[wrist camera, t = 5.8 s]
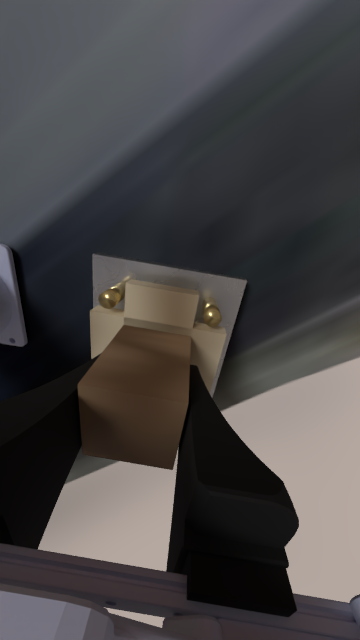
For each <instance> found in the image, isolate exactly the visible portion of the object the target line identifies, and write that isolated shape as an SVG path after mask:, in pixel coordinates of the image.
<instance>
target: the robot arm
mask: <svg viewBox="0 0 360 640" xmlns="http://www.w3.org/2000/svg"><path fill="white" fill-rule="evenodd" d="M0 343H2V344H8V345H13V346H19V347H22V346H24V345H26V344H27V335H26V329H25V323H24V317H23V312H22V306H21V300H20V294H19V289H18V283H17V277H16V271H15V266H14V260H13V254H12V251H11V249H10V248H9V247H8V246H7V245H4V244H0ZM100 355H101V354H99V355H97V356H96V357H94V358H93V359H91V360H89V361H88V362H86V363H84V364H83V365H81V366H79V367H78V368H76V369H74V370H72V371H70V372H68V373H67V374H65V375H63V376H61V377H59V378H57V379H55V380H53V381H51V382H49V383H47V384H44V385H42V386H40V387H38V388H35V389H33V390H30V391H27V392H25V393H22V394H20V395H17V396H14V397H12V398H9V399H6V400H3V401H0V640H360V594H359V595H357V596H355V597H353V598H352V599H351V600H350V603H346V602H340V601H334V600H328V599H322V598H317V597H311V596H304V595H299V594H293V593H292V589H291V585H290V582H289V578H288V575H287V571H286V568H288V566H289V562H288V559H287V555H286V552H285V548H284V547H285V546H286V544H287V543H288V542H289V541H290V540H291V538H292V537H293V536H294V535H295V533H296V531H297V529H298V527H299V520H298V517H297V514H296V512H295V509H294V506H293V503H292V501H291V499H290V496H289V494H288V492H287V490H286V488H285V485H284V483H283V481H282V480H281V479H280V478H279V477H278V476H277V475H276V474H275V473H274V472H272V471H271V470H270V469H269V468H268V467H267V466H266V465H265V464H264V463H263V462H262V461H261V460H260V459H259V458H258V457H257V456H256V455H255V454H254V453H253V452H252V451H251V450H250V449H249V448H248V447H247V446H246V445H245V443H244V442H243V441H242V440H241V439H240V438H239V436H238V435H237V434H236V433H235V431H234V430H233V429H232V428H231V426H230V425H229V424H228V422H227V421H226V419H225V418H224V417H223V415H222V414H221V412H220V411H219V409H218V407H217V406H216V404H215V402H214V401H213V399H212V397H211V395H210V393H209V391H208V389H207V387H206V385H205V383H204V381H203V379H202V376H201V374H200V371H199V368H198V366H197V365H191V364H190V376H189V402H188V408H187V412H186V416H185V420H184V424H183V429H182V433H181V437H180V441H179V446H178V464H177V474H176V485H175V494H174V504H173V514H172V524H171V533H170V542H169V553H168V561H167V570H166V572H165V571H159V570H153V569H148V568H142V567H136V566H130V565H124V564H118V563H113V562H107V561H101V560H95V559H90V558H84V557H78V556H72V555H66V554H60V553H55V552H49V551H43V550H37V549H38V546H39V544H40V541H41V539H42V536H43V534H44V531H45V529H46V526H47V524H48V522H49V519H50V516H51V514H52V512H53V509H54V507H55V504H56V502H57V500H58V497H59V495H60V493H61V490H62V488H63V486H64V483H65V481H66V479H67V476H68V474H69V472H70V470H71V467H72V465H73V463H74V461H75V459H76V456H77V454H78V452H79V450H80V448H81V446H82V439H81V426H80V412H79V399H78V385H77V384H78V383H79V382H80V380H81V379H82V378H83V377H84V375H85V374H86V373H87V371H88V370H89V369H90V368H91V366H92V365H93V364H94V362H95V361H96V360H97V359H98V357H99V356H100ZM104 607H106V608H112V609H118V610H124V611H130V612H135V613H141V614H147V615H153V616H159V617H165V619H164V621H163V627H162V628H160V627H156V626H152V625H149V624H146V623H142V622H138V621H135V620H132V619H128V618H125V617H121V616H118V615H115V614H111V613H109V612H108V610H107V609H106V608H104Z"/></svg>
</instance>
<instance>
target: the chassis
mask: <svg viewBox="0 0 360 640" xmlns="http://www.w3.org/2000/svg"><path fill="white" fill-rule="evenodd" d="M131 279H133V280H139V281H145V282H151V283H157V284H162V285H168V286H174V287H180V288H186V289H191V290H197V291H199V300H198V305H197V310H196V314H195V319H194V322H198V323H203V324H206V325H207V326H210V327H215V326H221V327H224V328H225V331H226V334H227V335H226V339H225V342H224V346H223V349H222V353H221V356H220V360H219V363H218V367H217V370H216V373H215V377H214V380H213V384H212V387H211V391H210V395H211V397H212V398H213V394H214V391H215V388H216V384H217V381H218V377H219V374H220V371H221V367H222V364H223V360H224V357H225V354H226V350H227V347H228V344H229V340H230V337H231V333H232V330H233V327H234V323H235V320H236V317H237V313H238V310H239V306H240V303H241V300H242V296H243V293H244V289H245V286H246V283H247V280H246V279H245V278H243V277H238V276H232V275H226V274H220V273H214V272H209V271H203V270H197V269H191V268H185V267H180V266H174V265H168V264H162V263H156V262H151V261H145V260H139V259H133V258H127V257H122V256H116V255H110V254H104V253H95V254H93V308H95V307H96V306H97V305H99V306H102V307H104V308H106V309H112V308H116V309H122V310H124V308H125V286H126V282H128V281H129V280H131Z"/></svg>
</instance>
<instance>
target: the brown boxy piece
mask: <svg viewBox="0 0 360 640" xmlns="http://www.w3.org/2000/svg"><path fill="white" fill-rule="evenodd" d="M198 300H199V291H197V290H191V289H186V288H180V287H174V286H168V285H162V284H157V283H151V282H145V281H139V280H133V279H131V280H129V281H128V282H126V286H125V308H124V310H122V309H116V308H112V309H106V308H104V307H102V306H99V305H97V306H96V307H95V308H93V309H92V310H91V311H90V329H91V359H93V358H94V357H96V356H97V355H99V354H101V355H100V356H99V357H98V359H97V360H96V361H95V362H94V364H93V365H92V366H91V368H90V369H89V370H88V371H87V373H86V374H85V375H84V377H83V378H82V379H81V380H80V382H79V383H78V384H77V385H78V399H79V412H80V426H81V439H82V453H83V455H89V456H95V457H101V458H106V459H112V460H118V461H124V462H130V463H136V464H141V465H147V466H153V467H159V468H164V469H170V470H173V466H174V462H175V458H176V454H177V450H178V445H179V441H180V437H181V433H182V429H183V424H184V420H185V416H186V412H187V408H188V402H189V376H190V364H191V365H197V366H198V368H199V371H200V374H201V376H202V379H203V381H204V383H205V385H206V387H207V389H208V391H209V393H210V391H211V387H212V384H213V380H214V377H215V373H216V370H217V367H218V363H219V360H220V356H221V353H222V349H223V346H224V342H225V339H226V335H227V334H226V331H225V328H224V327H221V326H215V327H210V326H207V325H206V324H203V323H198V322H194V319H195V314H196V310H197V305H198Z"/></svg>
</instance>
